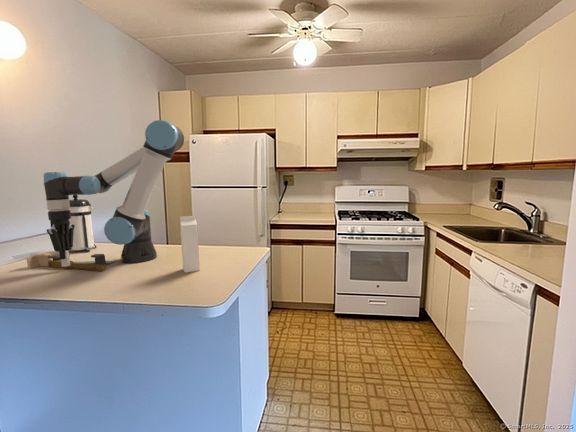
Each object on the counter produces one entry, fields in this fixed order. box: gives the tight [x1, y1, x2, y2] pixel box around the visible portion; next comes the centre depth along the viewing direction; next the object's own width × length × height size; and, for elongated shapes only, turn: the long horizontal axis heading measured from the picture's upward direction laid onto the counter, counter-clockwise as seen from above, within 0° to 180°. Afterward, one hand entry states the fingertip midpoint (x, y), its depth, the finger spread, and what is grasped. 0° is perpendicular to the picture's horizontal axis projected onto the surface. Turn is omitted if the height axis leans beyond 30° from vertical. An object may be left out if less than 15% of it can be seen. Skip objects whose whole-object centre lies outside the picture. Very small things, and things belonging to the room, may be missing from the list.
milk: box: [179, 215, 201, 273], centre depth 126 cm, size 6×6×22 cm
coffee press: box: [49, 195, 97, 254], centre depth 164 cm, size 17×16×30 cm
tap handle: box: [48, 259, 107, 272], centre depth 133 cm, size 3×3×30 cm
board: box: [26, 252, 115, 270], centre depth 138 cm, size 33×9×6 cm, turn 89°
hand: (66, 265), depth 131 cm, fingers closed
